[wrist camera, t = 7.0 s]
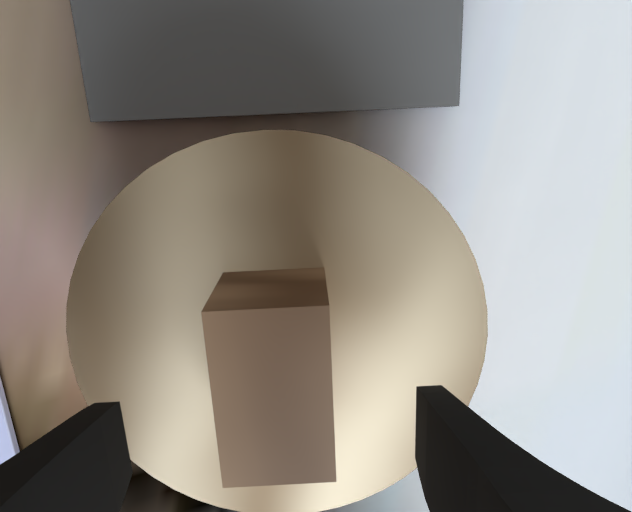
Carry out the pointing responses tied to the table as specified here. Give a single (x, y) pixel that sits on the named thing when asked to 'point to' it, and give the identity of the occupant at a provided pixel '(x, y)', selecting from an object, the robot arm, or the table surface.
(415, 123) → the table surface
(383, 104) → the mat
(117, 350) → the lid
